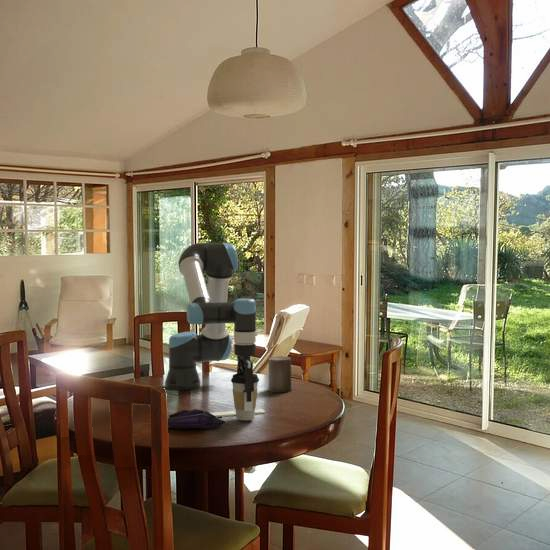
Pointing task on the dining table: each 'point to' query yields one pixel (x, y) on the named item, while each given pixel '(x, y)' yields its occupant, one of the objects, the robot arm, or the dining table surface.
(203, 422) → the crystal
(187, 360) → the robot arm
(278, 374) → the pillar candle
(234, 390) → the coffee cup
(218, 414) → the cream flat slat
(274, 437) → the dining table surface
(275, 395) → the dining table surface
